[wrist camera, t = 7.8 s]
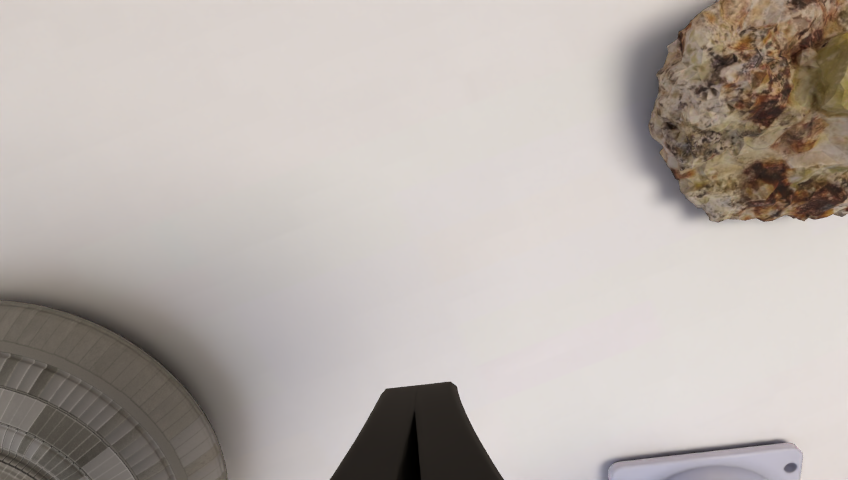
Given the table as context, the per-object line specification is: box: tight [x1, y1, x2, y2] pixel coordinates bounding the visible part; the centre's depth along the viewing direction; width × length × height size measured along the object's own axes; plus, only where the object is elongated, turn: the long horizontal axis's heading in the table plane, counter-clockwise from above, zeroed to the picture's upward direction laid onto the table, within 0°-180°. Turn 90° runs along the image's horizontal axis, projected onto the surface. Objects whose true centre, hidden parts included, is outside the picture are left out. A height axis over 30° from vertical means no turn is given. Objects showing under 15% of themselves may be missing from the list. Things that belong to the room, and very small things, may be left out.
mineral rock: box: [648, 0, 848, 222], centre depth 15 cm, size 11×4×8 cm
